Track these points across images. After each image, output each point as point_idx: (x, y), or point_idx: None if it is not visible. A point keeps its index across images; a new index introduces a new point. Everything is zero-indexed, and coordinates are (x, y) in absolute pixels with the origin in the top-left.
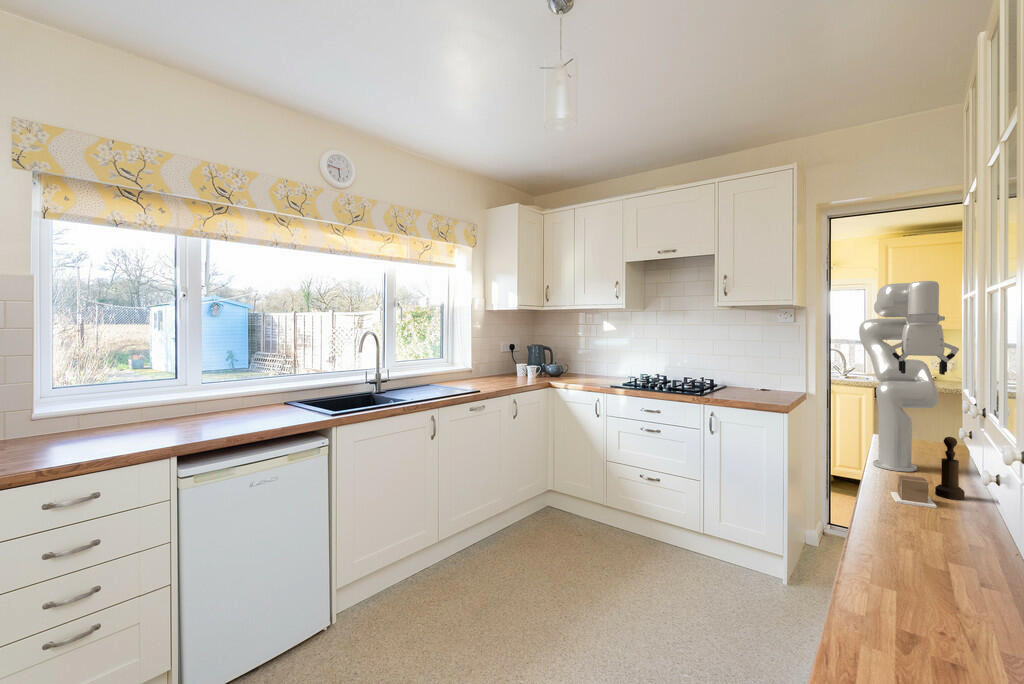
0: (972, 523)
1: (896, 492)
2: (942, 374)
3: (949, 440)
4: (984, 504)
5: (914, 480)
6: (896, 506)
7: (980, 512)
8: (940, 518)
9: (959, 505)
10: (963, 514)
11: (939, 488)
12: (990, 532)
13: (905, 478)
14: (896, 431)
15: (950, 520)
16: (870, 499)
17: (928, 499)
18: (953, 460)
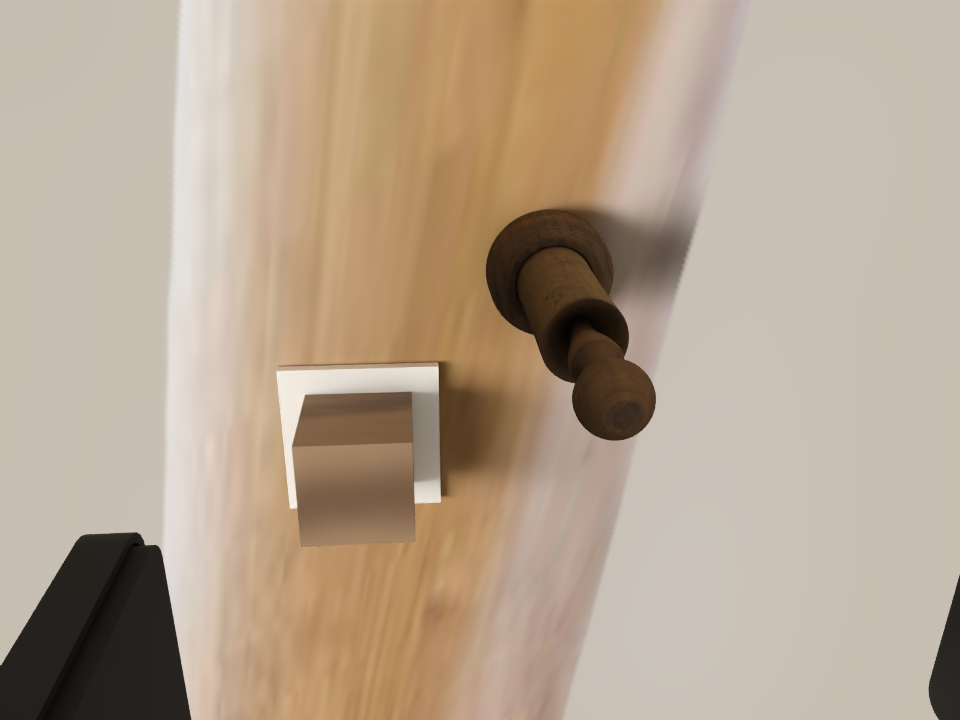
0: (521, 614)
1: (302, 371)
2: (943, 687)
3: (602, 437)
4: (659, 331)
5: (357, 533)
6: (287, 552)
7: (596, 465)
8: (426, 615)
9: (545, 405)
10: (522, 525)
11: (501, 309)
12: (548, 674)
13: (320, 517)
14: None
15: (455, 619)
16: (188, 508)
17: (427, 418)
18: (609, 311)
